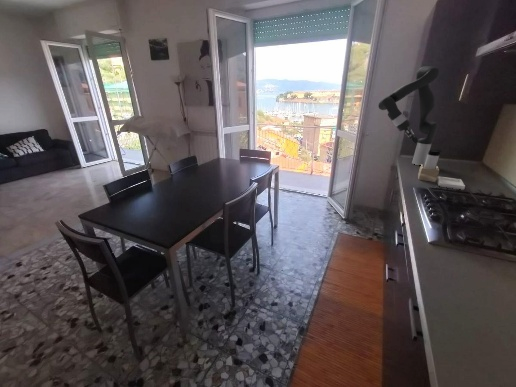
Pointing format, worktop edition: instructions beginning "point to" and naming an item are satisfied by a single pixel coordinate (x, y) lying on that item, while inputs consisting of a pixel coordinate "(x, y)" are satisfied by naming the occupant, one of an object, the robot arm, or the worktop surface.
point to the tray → (450, 183)
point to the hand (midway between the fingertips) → (416, 141)
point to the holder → (428, 173)
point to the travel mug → (432, 159)
